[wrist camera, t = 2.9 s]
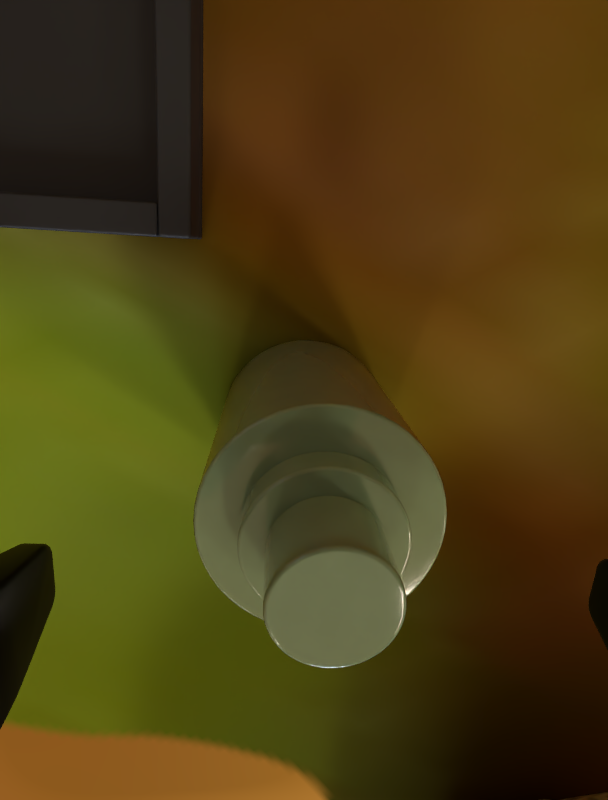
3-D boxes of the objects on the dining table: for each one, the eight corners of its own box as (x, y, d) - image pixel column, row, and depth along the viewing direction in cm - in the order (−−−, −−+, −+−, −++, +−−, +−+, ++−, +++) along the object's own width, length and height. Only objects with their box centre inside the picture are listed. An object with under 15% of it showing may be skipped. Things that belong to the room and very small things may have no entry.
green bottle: (391, 344, 16) (526, 464, 7) (375, 493, 17) (472, 740, 9) (225, 335, 16) (164, 451, 7) (223, 488, 17) (169, 739, 9)
